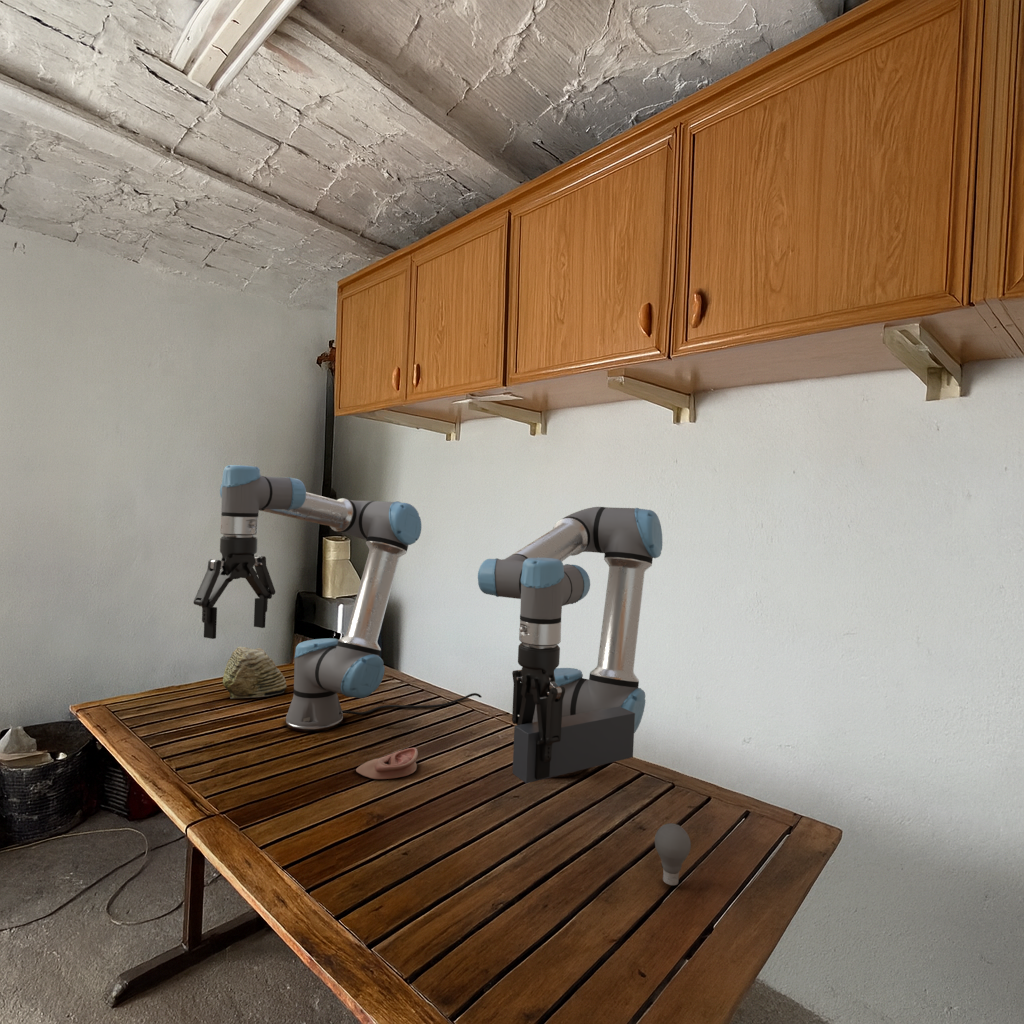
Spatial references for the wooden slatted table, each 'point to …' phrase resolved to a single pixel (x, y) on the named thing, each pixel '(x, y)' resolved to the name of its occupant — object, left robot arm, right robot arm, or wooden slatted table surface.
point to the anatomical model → (390, 765)
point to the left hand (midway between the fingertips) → (235, 632)
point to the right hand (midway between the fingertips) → (533, 771)
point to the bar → (577, 743)
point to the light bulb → (672, 850)
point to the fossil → (252, 674)
